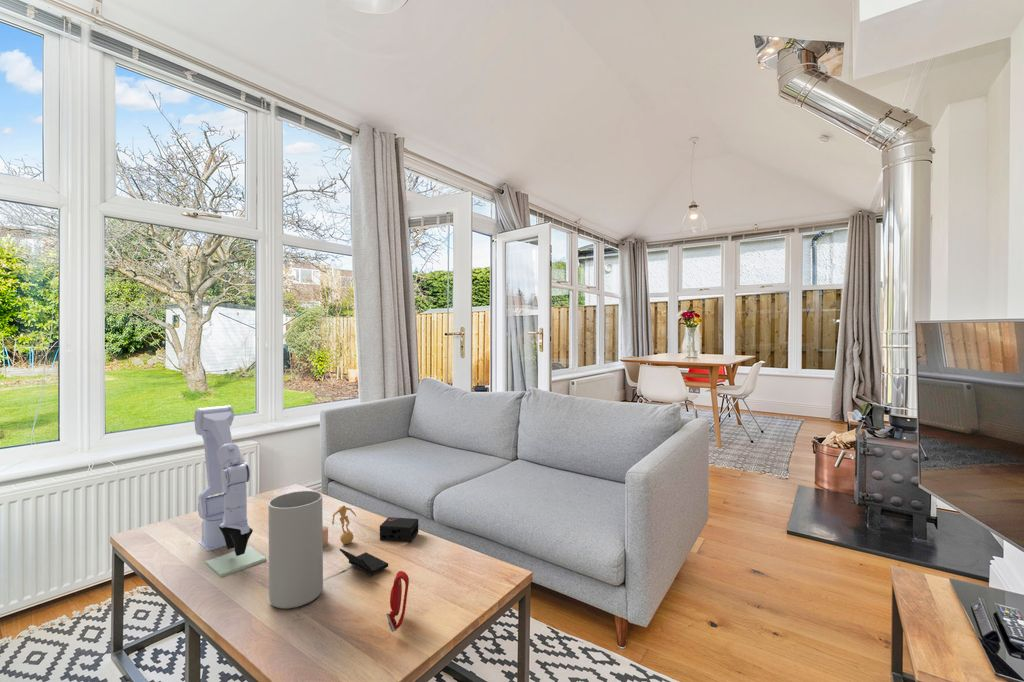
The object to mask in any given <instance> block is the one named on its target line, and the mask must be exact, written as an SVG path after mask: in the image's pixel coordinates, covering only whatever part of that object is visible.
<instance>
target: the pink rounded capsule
mask: <svg viewBox="0 0 1024 682" xmlns="http://www.w3.org/2000/svg"><path fill="white" fill-rule="evenodd" d="M328 544H329V527H327V526H325V525H324V526H323V548H325V547H327V546H328Z"/></svg>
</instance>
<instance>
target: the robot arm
mask: <svg viewBox="0 0 1024 682" xmlns="http://www.w3.org/2000/svg"><path fill="white" fill-rule="evenodd" d="M234 415H235V413H234V408H233V407H232V406H231V404H227V405H219V406H211V407H197V408H196V410H194V417H193V419H194V420H193V421H194V430H195V433H196V435H198V436H201V438H202V439H203V447H204V448H203V449H204V458H205V466H206V467H205V470H206V479H207V487H206V488H205V489H204V490H202V491H201V492H200V493H199V495H198V498H197V500H198V501H197V503H198V504H197V514H198V516H199V518H200V519H202V521H201V540H198V544H199V545H201V547H203V549H205V550H206V551H208V552H211V551H214V550H217V549H220V548H224V547H226V548H227V550H232V549H233V550H234V551H235V554H236V556H239V555H242V554H244V553H245V550H246V547H248V546H247V545H248V542H249V539H250V537H251V535H252V533H253V530H254V529H253V528H251V527H250V525H249V519H248V517H247V516H248V508H247V507H248V499H247V498H248V497H247V496H248V494H247V493H248V492H247V488H248V486H247V485H248V484H247V483H249V481H250V478H251V470H250V467H249V464H248V463H247V462H246V460H245V459H243V458H242V455H241V451H240V448H239V446H238V444H235V443H233V439H232V438H233V437H232V434H231V432H232V431H231V426H232V424H233V421H234V418H235V416H234ZM223 546H224V547H223Z"/></svg>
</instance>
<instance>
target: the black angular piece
mask: <svg viewBox="0 0 1024 682" xmlns="http://www.w3.org/2000/svg"><path fill="white" fill-rule="evenodd" d="M338 551H340V552H341V553H342V555H344V557H346V559H347V560H348V564H350V565H352V566H353V567H356V568H358V569H360V570H362V571H363V572H365V573H367V574H368V575H370V576H373V575H375V574H376V573H379V572H380V571H382V570H384V569H386V568H388V567H389V563H388V562H386V561H384V560H382V559H380V558H378V557H376V556H374V555H373V554H371V553H368V552H363V553H360V554H359V555H355V554H352V553H350V552H348V551H346V550H345V549H342V548H339V550H338Z"/></svg>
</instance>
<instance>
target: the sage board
mask: <svg viewBox="0 0 1024 682" xmlns="http://www.w3.org/2000/svg"><path fill="white" fill-rule="evenodd" d="M266 561H267V556H264V555H263V554H262V553H260V552H259V551H258V550H256V549H255V548H253V547H251V546H250V545H248V546H246V550H245V553H244V554H242V555H239V556H236V554H235V550H234V551H231V552H228V553H225V554H222V555H220V556H217V557H214V558H211V559H208V560H205V561H204V562H205V564H206V565H207V566H208V567H209V568H210V569H211V570H212V571H213V572H214V573H216V575H218V576H219V578H223V577H225V576H228V575H231V574H234V573H237V572H239V571H242V570H244V569H247V568H250V567H252V566H255V565H258V564H260V563H264V562H266Z"/></svg>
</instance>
